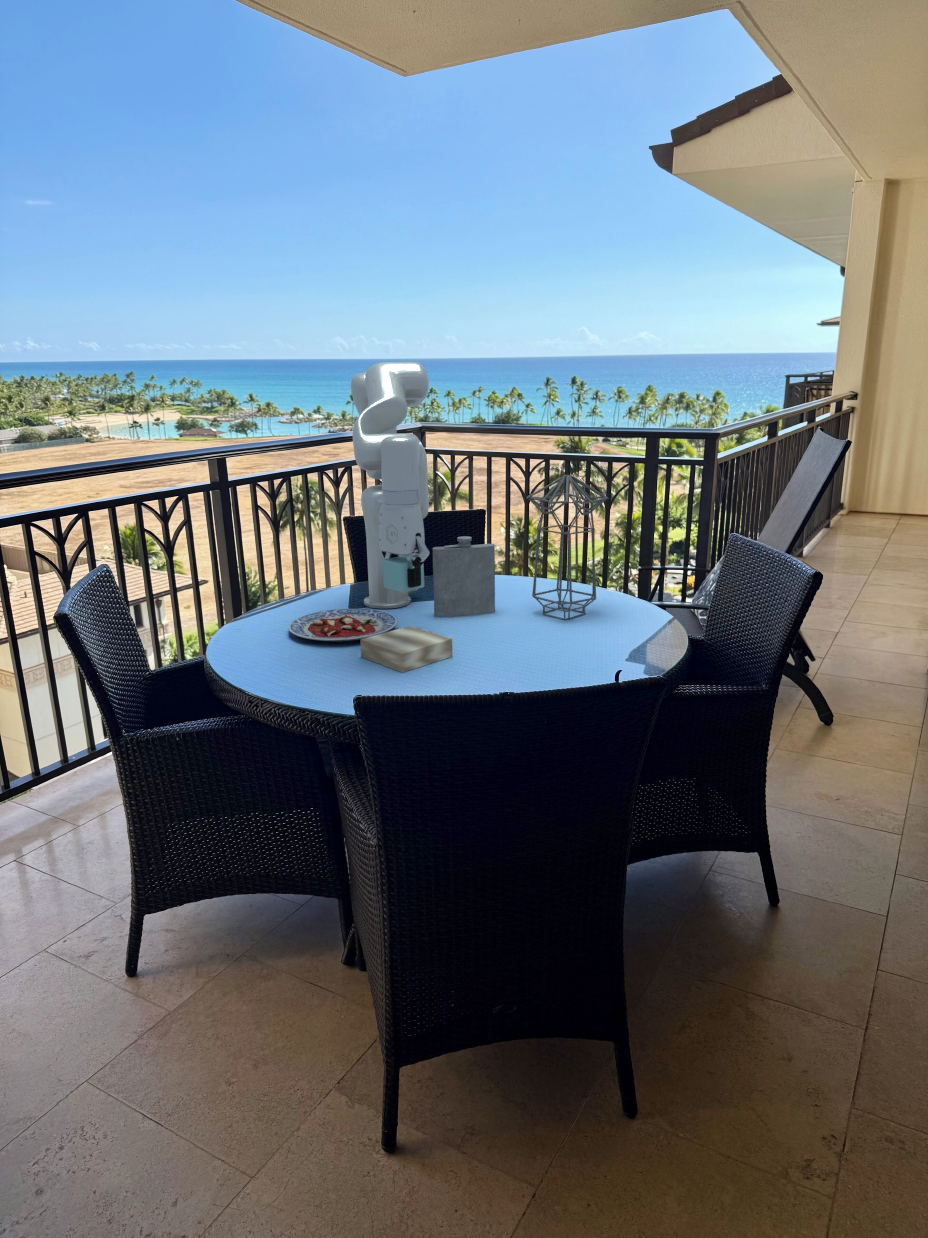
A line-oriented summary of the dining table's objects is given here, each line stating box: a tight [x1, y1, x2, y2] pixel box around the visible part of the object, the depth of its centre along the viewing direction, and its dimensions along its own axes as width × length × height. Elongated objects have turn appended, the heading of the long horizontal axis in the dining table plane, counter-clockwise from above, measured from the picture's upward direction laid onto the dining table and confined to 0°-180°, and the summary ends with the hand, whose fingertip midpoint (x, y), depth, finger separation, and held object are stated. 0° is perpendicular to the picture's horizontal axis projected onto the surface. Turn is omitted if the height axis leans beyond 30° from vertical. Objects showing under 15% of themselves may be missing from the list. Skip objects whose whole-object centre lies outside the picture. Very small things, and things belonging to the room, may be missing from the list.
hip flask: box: [432, 535, 496, 618], centre depth 204 cm, size 16×4×20 cm, turn 104°
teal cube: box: [383, 556, 425, 592], centre depth 170 cm, size 6×6×6 cm
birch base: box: [359, 625, 454, 673], centre depth 175 cm, size 14×14×4 cm
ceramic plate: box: [288, 608, 398, 643], centre depth 194 cm, size 26×26×3 cm
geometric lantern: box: [526, 474, 610, 621], centre depth 201 cm, size 16×16×35 cm
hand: (404, 583), depth 170 cm, fingers closed on teal cube, 6 cm apart
